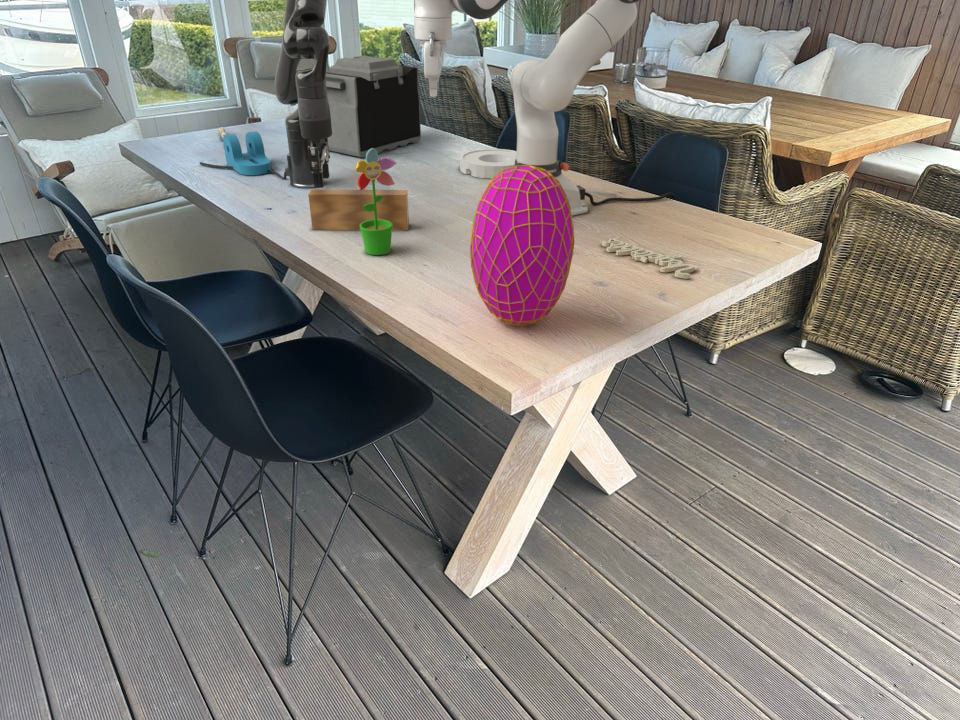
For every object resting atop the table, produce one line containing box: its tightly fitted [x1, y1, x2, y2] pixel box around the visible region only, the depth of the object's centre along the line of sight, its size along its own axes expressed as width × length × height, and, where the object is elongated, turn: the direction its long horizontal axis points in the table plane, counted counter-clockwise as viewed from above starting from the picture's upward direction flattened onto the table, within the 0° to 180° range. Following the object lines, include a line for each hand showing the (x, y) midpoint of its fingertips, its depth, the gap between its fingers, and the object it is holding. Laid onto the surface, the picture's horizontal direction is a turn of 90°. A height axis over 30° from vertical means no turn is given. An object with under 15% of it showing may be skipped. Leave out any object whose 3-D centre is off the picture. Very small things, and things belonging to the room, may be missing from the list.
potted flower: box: [355, 148, 397, 256], centre depth 160 cm, size 9×8×25 cm
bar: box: [307, 188, 410, 231], centre depth 179 cm, size 25×4×10 cm, turn 91°
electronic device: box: [326, 55, 422, 159], centre depth 250 cm, size 37×22×30 cm, turn 144°
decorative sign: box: [601, 237, 696, 280], centre depth 164 cm, size 26×1×10 cm
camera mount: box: [222, 131, 272, 176], centre depth 226 cm, size 18×10×10 cm, turn 35°
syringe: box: [218, 127, 229, 142], centre depth 264 cm, size 25×4×3 cm, turn 21°
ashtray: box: [459, 148, 517, 180], centre depth 231 cm, size 23×23×4 cm
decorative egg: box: [469, 165, 576, 326], centre depth 128 cm, size 19×19×30 cm
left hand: (322, 182), depth 175 cm, fingers open, 8 cm apart
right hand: (434, 92), depth 168 cm, fingers open, 8 cm apart
